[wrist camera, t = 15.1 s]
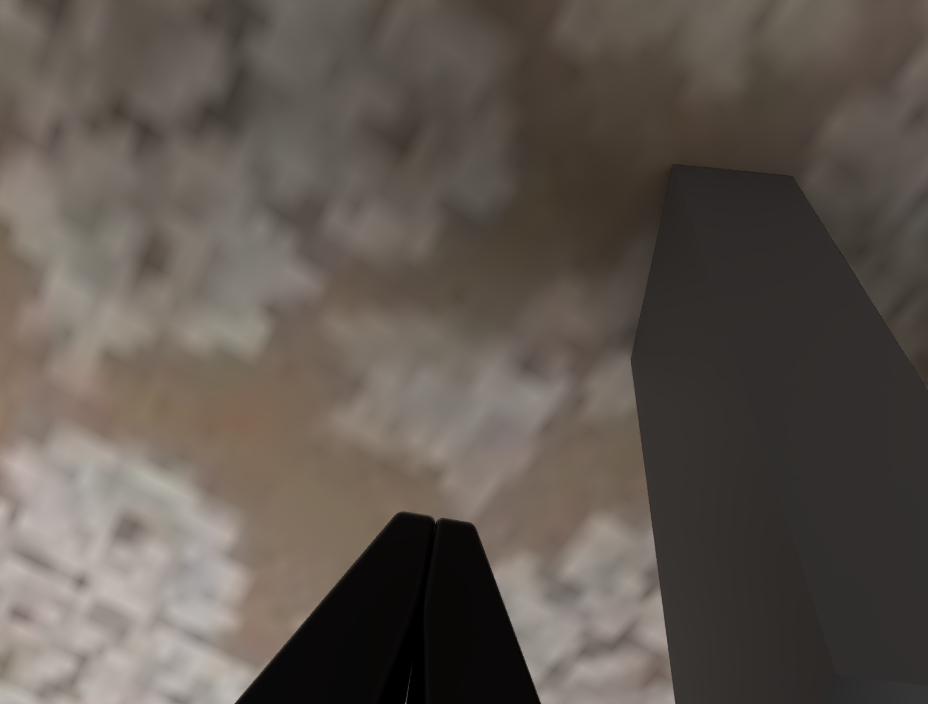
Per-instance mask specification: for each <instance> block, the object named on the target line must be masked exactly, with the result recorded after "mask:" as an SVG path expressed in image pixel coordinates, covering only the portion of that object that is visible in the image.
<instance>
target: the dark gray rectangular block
mask: <svg viewBox="0 0 928 704" xmlns="http://www.w3.org/2000/svg"><path fill="white" fill-rule="evenodd" d="M631 365H632V373H633V381H634V389H635V396H636V404H637V412H638V419H639V427H640V435H641V442H642V450H643V458H644V466H645V473H646V481H647V489H648V496H649V504H650V512H651V519H652V527H653V535H654V543H655V550H656V558H657V566H658V573H659V581H660V589H661V596H662V604H663V612H664V620H665V627H666V635H667V643H668V650H669V658H670V666H671V673H672V681H673V689H674V697H675V704H928V390H927V388H926V387H925V385H924V383H923V382H922V380H921V379H920V377H919V376H918V374H917V372H916V371H915V369H914V368H913V366H912V365H911V363H910V361H909V360H908V358H907V357H906V355H905V353H904V352H903V350H902V349H901V347H900V346H899V344H898V342H897V341H896V339H895V338H894V336H893V335H892V333H891V331H890V330H889V328H888V327H887V325H886V323H885V322H884V320H883V319H882V317H881V316H880V314H879V312H878V311H877V309H876V308H875V306H874V305H873V303H872V301H871V300H870V298H869V297H868V295H867V293H866V292H865V290H864V289H863V287H862V286H861V284H860V282H859V281H858V279H857V278H856V276H855V275H854V273H853V271H852V270H851V268H850V267H849V265H848V263H847V262H846V260H845V259H844V257H843V256H842V254H841V252H840V251H839V249H838V248H837V246H836V245H835V243H834V241H833V240H832V238H831V237H830V235H829V233H828V232H827V230H826V229H825V227H824V226H823V224H822V222H821V221H820V219H819V218H818V216H817V214H816V213H815V211H814V210H813V208H812V207H811V205H810V203H809V202H808V200H807V199H806V197H805V196H804V194H803V192H802V191H801V189H800V188H799V186H798V184H797V183H796V181H795V180H794V178H793V177H792V176H783V175H773V174H763V173H753V172H743V171H733V170H723V169H713V168H704V167H694V166H684V165H674V164H673V168H672V172H671V177H670V181H669V186H668V191H667V195H666V200H665V204H664V209H663V214H662V218H661V223H660V228H659V232H658V237H657V241H656V246H655V251H654V255H653V260H652V264H651V269H650V274H649V278H648V283H647V288H646V292H645V297H644V301H643V306H642V311H641V315H640V320H639V325H638V329H637V334H636V338H635V343H634V348H633V352H632V357H631Z"/></svg>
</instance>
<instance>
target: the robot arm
mask: <svg viewBox="0 0 928 704" xmlns="http://www.w3.org/2000/svg"><path fill="white" fill-rule="evenodd" d="M434 528H435V529H434ZM410 674H411V675H410ZM409 680H410V682H409ZM408 686H409V688H408ZM407 692H408V695H407ZM406 698H407V702H406ZM405 703H406V704H541V702H540V699H539V697H538V694H537V691H536V689H535V686H534V683H533V681H532V678H531V675H530V672H529V670H528V667H527V664H526V662H525V659H524V656H523V654H522V651H521V648H520V645H519V643H518V640H517V637H516V635H515V632H514V629H513V627H512V624H511V621H510V618H509V616H508V613H507V610H506V608H505V605H504V602H503V600H502V597H501V594H500V591H499V589H498V586H497V583H496V581H495V578H494V575H493V573H492V570H491V567H490V564H489V562H488V559H487V556H486V554H485V551H484V548H483V546H482V543H481V540H480V537H479V535H478V532H477V530H476V528H475V526H474V525H473V524H472V523H470V522H465V521H459V520H453V519H447V518H440V519H438V520H437V521H436V524H435V520H434V518H433V517H432V516H428V515H422V514H416V513H410V512H399V513H397V514H396V515H395V516H394V517H393V518H392V519H391V520H390V522H389V523H388V524H387V525H386V526H385V527H384V529H383V530H382V531H381V532H380V533H379V534H378V536H377V537H376V538H375V539H374V540H373V542H372V543H371V544H370V545H369V546H368V547H367V549H366V550H365V551H364V552H363V553H362V554H361V556H360V557H359V558H358V559H357V560H356V562H355V563H354V564H353V565H352V566H351V567H350V569H349V570H348V571H347V572H346V573H345V574H344V576H343V577H342V578H341V579H340V580H339V582H338V583H337V584H336V585H335V586H334V587H333V589H332V590H331V591H330V592H329V593H328V594H327V596H326V597H325V598H324V599H323V600H322V601H321V603H320V604H319V605H318V606H317V607H316V609H315V610H314V611H313V612H312V613H311V614H310V616H309V617H308V618H307V619H306V620H305V621H304V623H303V624H302V625H301V626H300V627H299V629H298V630H297V631H296V632H295V633H294V634H293V636H292V637H291V638H290V639H289V640H288V641H287V643H286V644H285V645H284V646H283V647H282V648H281V650H280V651H279V652H278V653H277V654H276V656H275V657H274V658H273V659H272V660H271V661H270V663H269V664H268V665H267V666H266V667H265V668H264V670H263V671H262V672H261V673H260V674H259V676H258V677H257V678H256V679H255V680H254V681H253V683H252V684H251V685H250V686H249V687H248V688H247V690H246V691H245V692H244V693H243V694H242V696H241V697H240V698H239V699H238V700H237V701H236V703H235V704H405Z"/></svg>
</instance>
